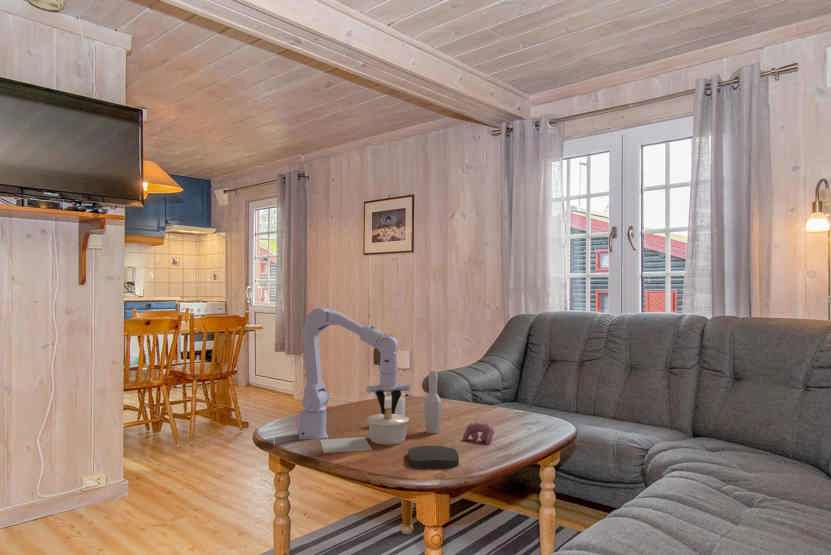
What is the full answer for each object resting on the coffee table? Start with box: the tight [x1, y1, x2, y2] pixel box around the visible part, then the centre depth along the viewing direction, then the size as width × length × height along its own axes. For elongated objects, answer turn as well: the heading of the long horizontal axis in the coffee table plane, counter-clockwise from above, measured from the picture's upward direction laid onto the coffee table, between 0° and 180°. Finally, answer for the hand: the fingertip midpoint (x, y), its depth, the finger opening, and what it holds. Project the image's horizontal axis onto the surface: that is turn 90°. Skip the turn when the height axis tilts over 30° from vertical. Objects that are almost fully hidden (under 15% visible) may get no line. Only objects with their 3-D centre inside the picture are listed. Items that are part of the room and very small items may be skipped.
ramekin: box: [367, 422, 409, 446], centre depth 189 cm, size 13×13×7 cm
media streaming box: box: [407, 445, 460, 469], centre depth 169 cm, size 15×15×3 cm
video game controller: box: [462, 422, 495, 445], centre depth 191 cm, size 10×5×7 cm, turn 60°
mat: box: [319, 436, 373, 454], centre depth 183 cm, size 15×15×1 cm
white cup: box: [384, 395, 406, 416], centre depth 211 cm, size 8×8×10 cm
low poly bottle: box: [423, 369, 443, 434], centre depth 201 cm, size 6×6×22 cm
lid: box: [366, 407, 410, 426], centre depth 189 cm, size 14×14×4 cm
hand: (387, 413), depth 189 cm, fingers closed on lid, 3 cm apart
